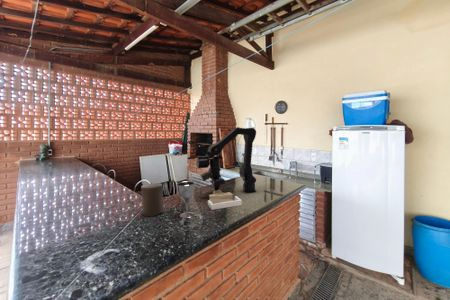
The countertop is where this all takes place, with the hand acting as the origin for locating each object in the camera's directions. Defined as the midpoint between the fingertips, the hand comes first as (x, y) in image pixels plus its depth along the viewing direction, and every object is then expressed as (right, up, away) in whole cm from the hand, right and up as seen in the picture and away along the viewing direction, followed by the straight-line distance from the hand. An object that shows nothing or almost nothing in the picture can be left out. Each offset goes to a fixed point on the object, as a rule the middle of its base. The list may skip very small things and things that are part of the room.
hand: (215, 192), depth 123 cm
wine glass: (-12, -5, -26) cm, 29 cm away
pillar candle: (-29, -5, -21) cm, 37 cm away
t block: (+2, -3, -6) cm, 7 cm away
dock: (+5, -3, -14) cm, 15 cm away
